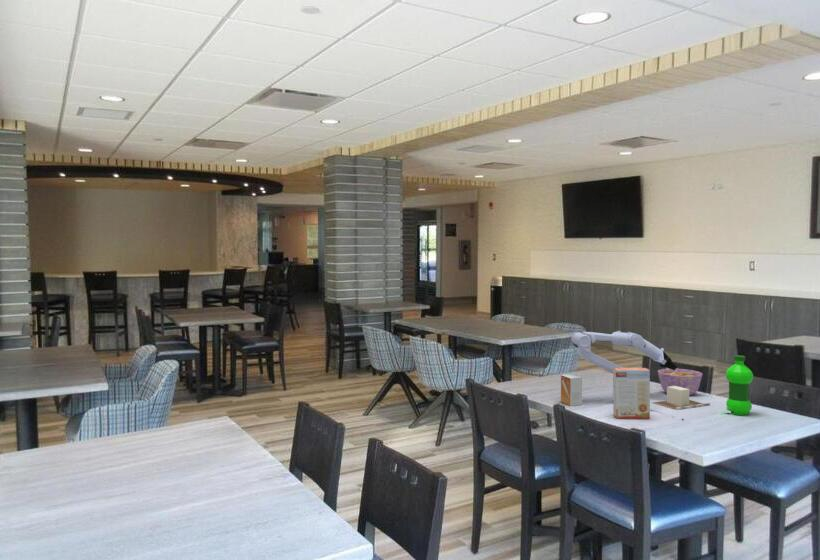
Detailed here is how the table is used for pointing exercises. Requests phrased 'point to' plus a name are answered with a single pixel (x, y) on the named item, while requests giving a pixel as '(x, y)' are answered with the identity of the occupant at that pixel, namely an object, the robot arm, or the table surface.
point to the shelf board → (676, 407)
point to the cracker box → (631, 393)
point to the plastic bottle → (739, 387)
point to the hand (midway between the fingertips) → (673, 365)
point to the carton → (678, 395)
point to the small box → (571, 389)
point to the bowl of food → (680, 379)
